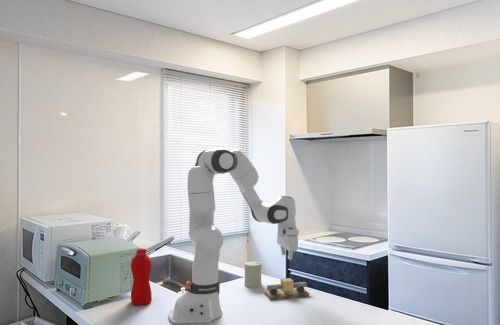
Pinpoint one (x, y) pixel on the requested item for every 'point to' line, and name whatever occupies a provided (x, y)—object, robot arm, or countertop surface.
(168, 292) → the countertop surface
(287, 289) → the block
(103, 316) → the countertop surface
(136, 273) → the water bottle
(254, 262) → the can
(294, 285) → the shaft mount
